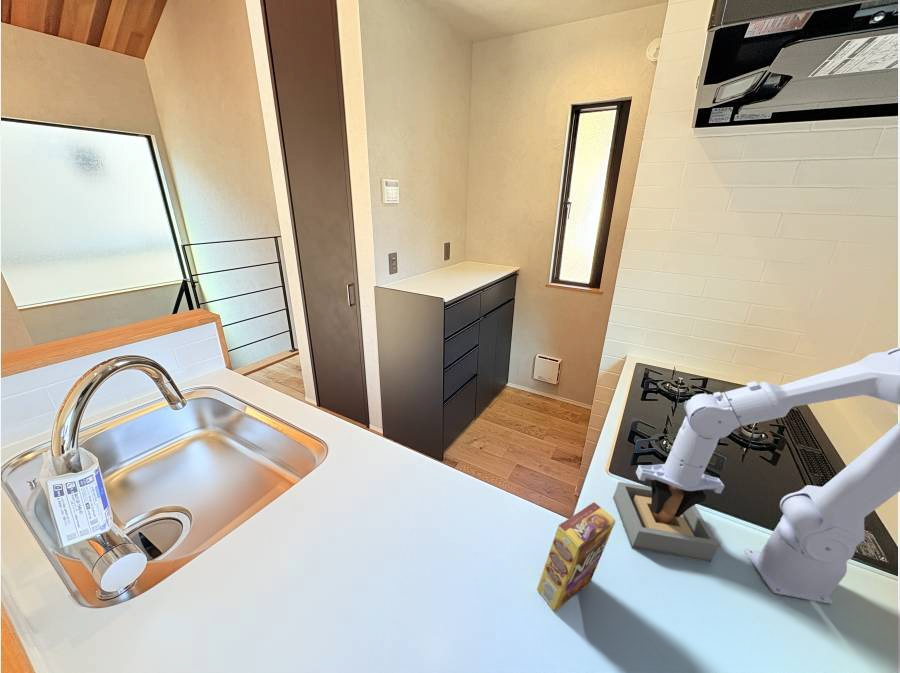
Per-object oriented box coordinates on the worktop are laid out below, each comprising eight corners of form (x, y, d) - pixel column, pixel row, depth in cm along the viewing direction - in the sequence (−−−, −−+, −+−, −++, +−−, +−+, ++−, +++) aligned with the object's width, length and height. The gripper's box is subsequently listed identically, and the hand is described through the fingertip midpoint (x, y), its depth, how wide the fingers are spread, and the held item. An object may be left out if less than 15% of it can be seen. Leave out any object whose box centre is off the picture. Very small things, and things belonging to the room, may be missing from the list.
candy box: (556, 616, 54) (579, 547, 48) (535, 590, 57) (555, 523, 52) (592, 585, 59) (617, 519, 53) (571, 563, 62) (592, 499, 56)
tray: (680, 508, 76) (687, 493, 74) (710, 562, 65) (719, 545, 63) (613, 497, 77) (618, 481, 75) (631, 548, 66) (638, 531, 64)
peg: (665, 514, 72) (679, 485, 68) (672, 529, 69) (687, 499, 65) (649, 512, 72) (662, 482, 69) (655, 526, 69) (669, 496, 66)
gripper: (718, 448, 67) (693, 501, 72) (639, 436, 68) (620, 489, 74) (741, 475, 61) (712, 531, 66) (654, 461, 62) (631, 517, 67)
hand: (664, 511), depth 69 cm, fingers closed on peg, 3 cm apart
